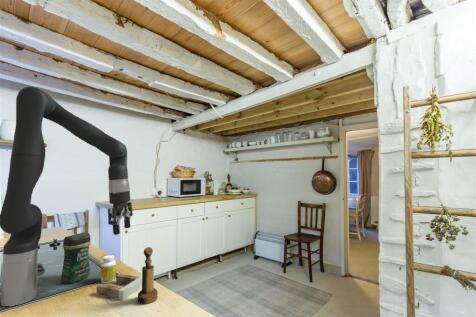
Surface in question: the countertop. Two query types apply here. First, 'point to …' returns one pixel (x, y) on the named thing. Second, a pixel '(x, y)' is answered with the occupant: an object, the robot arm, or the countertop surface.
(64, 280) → the coffee jar
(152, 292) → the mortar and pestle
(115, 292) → the slot holder
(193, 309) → the countertop surface
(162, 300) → the countertop surface
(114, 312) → the countertop surface
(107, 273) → the supplement bottle
